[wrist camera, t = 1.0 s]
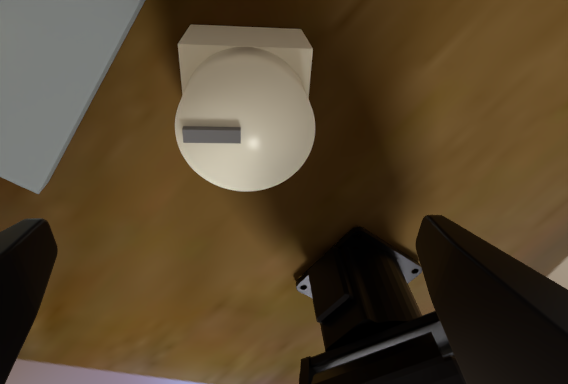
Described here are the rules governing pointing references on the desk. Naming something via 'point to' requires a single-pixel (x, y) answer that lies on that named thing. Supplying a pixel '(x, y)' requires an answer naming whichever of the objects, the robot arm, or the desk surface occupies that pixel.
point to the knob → (245, 104)
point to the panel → (52, 77)
